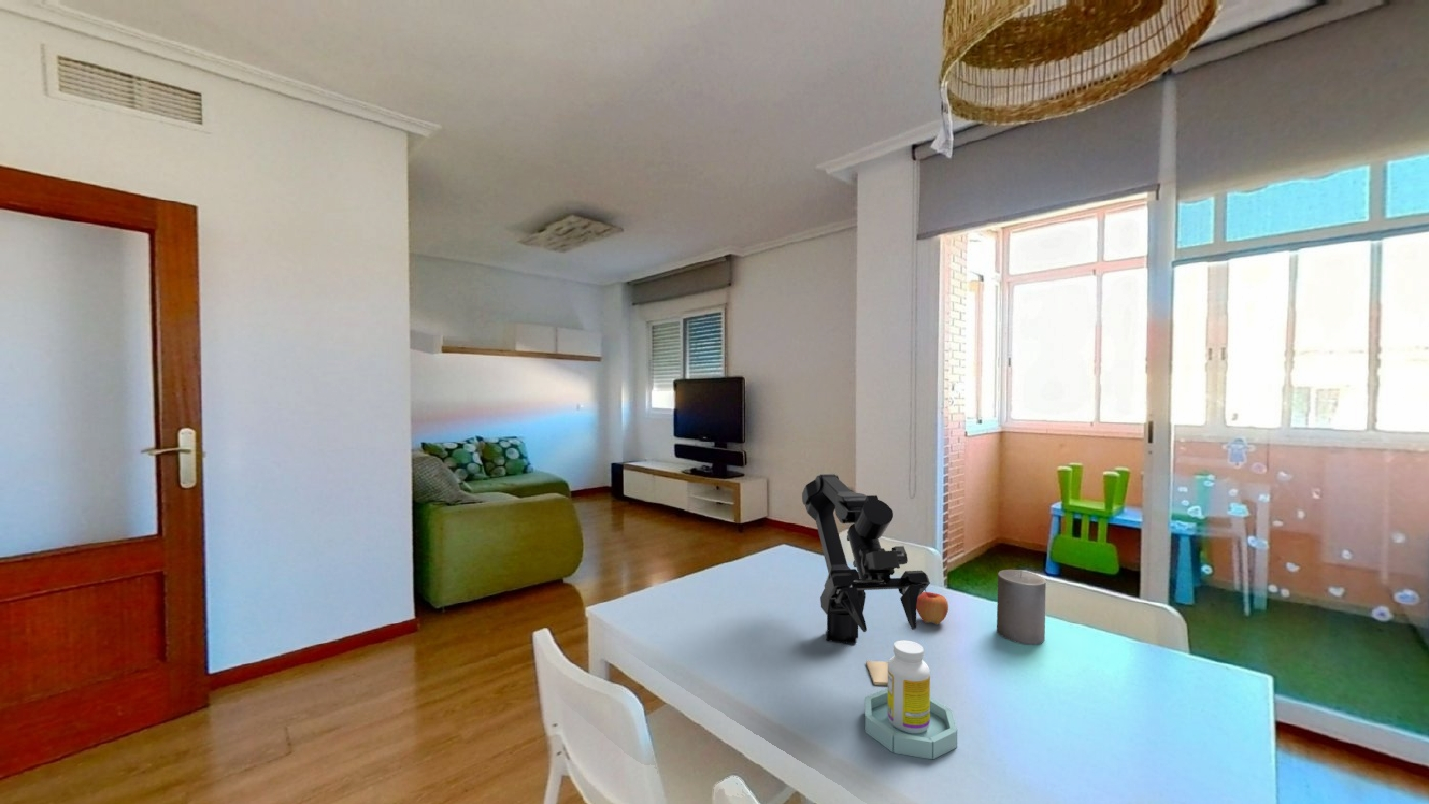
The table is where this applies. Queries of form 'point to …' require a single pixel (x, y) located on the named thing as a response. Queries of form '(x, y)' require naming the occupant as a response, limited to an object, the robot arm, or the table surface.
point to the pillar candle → (1021, 606)
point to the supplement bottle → (908, 688)
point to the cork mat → (878, 672)
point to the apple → (932, 607)
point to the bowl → (919, 745)
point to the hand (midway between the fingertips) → (889, 630)
